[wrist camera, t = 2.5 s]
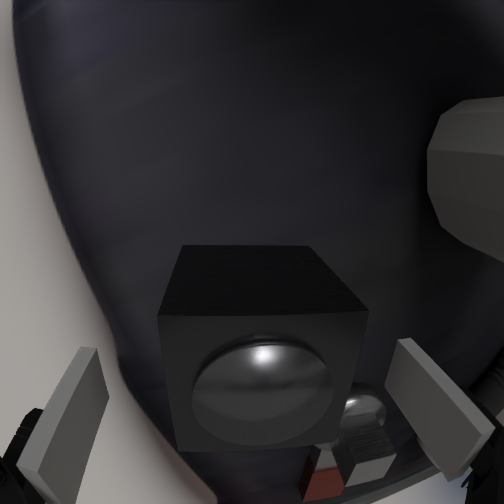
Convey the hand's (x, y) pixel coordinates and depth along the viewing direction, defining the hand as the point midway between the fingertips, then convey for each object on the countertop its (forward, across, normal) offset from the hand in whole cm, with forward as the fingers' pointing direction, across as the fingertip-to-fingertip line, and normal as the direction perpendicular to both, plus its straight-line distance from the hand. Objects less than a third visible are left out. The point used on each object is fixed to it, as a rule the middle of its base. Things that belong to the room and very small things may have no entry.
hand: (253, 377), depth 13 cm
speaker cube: (+6, 0, 0) cm, 6 cm away
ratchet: (+7, +8, -14) cm, 18 cm away
